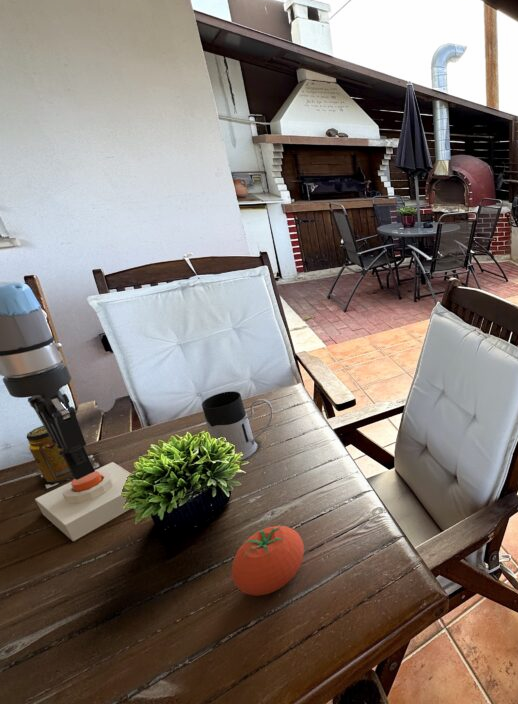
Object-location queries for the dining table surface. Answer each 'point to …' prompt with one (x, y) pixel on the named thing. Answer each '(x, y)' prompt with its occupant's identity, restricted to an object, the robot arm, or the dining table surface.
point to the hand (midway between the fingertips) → (84, 474)
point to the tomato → (267, 560)
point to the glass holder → (231, 421)
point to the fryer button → (86, 482)
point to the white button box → (86, 503)
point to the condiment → (49, 456)
